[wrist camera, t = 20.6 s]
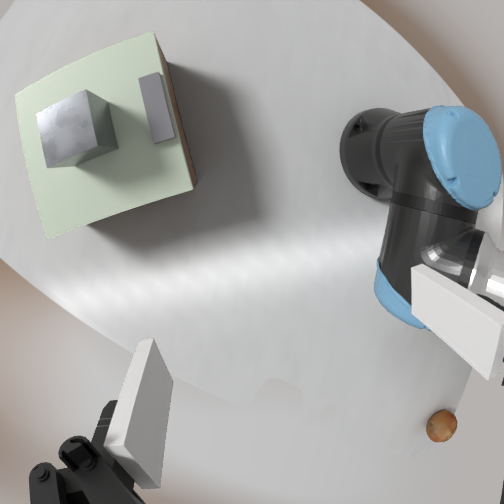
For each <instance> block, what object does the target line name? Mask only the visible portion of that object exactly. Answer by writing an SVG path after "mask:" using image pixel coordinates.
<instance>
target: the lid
mask: <svg viewBox="0 0 504 504" xmlns="http://www.w3.org/2000/svg"><path fill="white" fill-rule="evenodd" d="M85 89H87V90H89V91H90V92H92V93H94V94H96V95H97V96H99V97H101V98H103V99H104V100H106V101H108V103H109V108H110V113H111V117H112V122H113V126H114V130H115V135H116V139H117V143H118V147H119V149H117V150H114V151H112V152H109V153H107V154H104V155H101V156H99V157H96V158H94V159H91V160H89V161H87V162H84V163H82V164H79V165H77V166H75V167H59V168H47V166H46V162H45V158H44V153H43V148H42V144H41V138H40V133H39V128H38V122H37V116H36V114H37V113H39V112H40V111H42V110H44V109H46V108H48V107H50V106H52V105H54V104H56V103H58V102H60V101H62V100H64V99H66V98H68V97H70V96H72V95H74V94H76V93H78V92H80V91H83V90H85ZM15 101H16V110H17V117H18V124H19V130H20V136H21V142H22V147H23V152H24V157H25V162H26V167H27V171H28V175H29V179H30V183H31V187H32V191H33V195H34V199H35V202H36V206H37V209H38V213H39V216H40V219H41V223H42V226H43V229H44V232H45V235H46V238H47V240H48V239H50V238H53V237H55V236H58V235H60V234H63V233H66V232H68V231H71V230H73V229H76V228H79V227H81V226H84V225H87V224H90V223H92V222H95V221H98V220H101V219H103V218H106V217H109V216H112V215H115V214H118V213H121V212H124V211H127V210H130V209H133V208H136V207H139V206H142V205H145V204H148V203H151V202H154V201H157V200H161V199H164V198H167V197H170V196H174V195H177V194H180V193H184V192H187V191H190V190H193V189H194V188H193V184H192V181H191V177H190V173H189V170H188V166H187V162H186V159H185V155H184V151H183V147H182V144H181V140H180V136H179V132H178V128H177V124H176V120H175V116H174V112H173V108H172V104H171V100H170V96H169V92H168V88H167V84H166V80H165V76H164V71H163V67H162V63H161V59H160V54H159V50H158V45H157V41H156V36H155V34H154V31H151V32H148V33H145V34H142V35H139V36H136V37H133V38H130V39H127V40H125V41H122V42H119V43H117V44H114V45H112V46H109V47H107V48H104V49H102V50H99V51H97V52H95V53H92V54H90V55H88V56H85V57H83V58H81V59H79V60H77V61H75V62H73V63H71V64H68V65H66V66H64V67H62V68H61V69H59V70H57V71H55V72H53V73H51V74H49V75H47V76H45V77H44V78H42V79H40V80H38V81H36V82H35V83H33V84H31V85H30V86H28V87H26V88H25V89H23V90H21V91H20V92H18V93H17V94H15Z"/></svg>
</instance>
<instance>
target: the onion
mask: <svg viewBox="0 0 504 504" xmlns="http://www.w3.org/2000/svg"><path fill="white" fill-rule="evenodd" d="M456 428H457V420H456V417H455V415H454V414H452V413H451V412H449V411H447V410H443V411H439V412H437V413H435V414H434V415H433V416H432V417H431V418H430V419H429V421H428V423H427V427H426V432H427V435H428V436H429V438H430V439H431V440H432V441H434V442H445V441H447V440H449V439H450V438H451V437H452V436H453V434H454V433H455V431H456Z"/></svg>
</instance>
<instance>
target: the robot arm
mask: <svg viewBox="0 0 504 504" xmlns="http://www.w3.org/2000/svg"><path fill="white" fill-rule="evenodd" d="M340 158H341V163H342V166H343V169H344V172H345V174H346V176H347V177H348V179H349V180H350V182H351V183H352V184H353V185H354V186H355V187H356V188H357V189H358V190H359V191H361V192H362V193H364V194H366V195H369V196H372V197H376V198H381V199H390V198H391V203H390V208H389V214H388V219H387V225H386V229H385V234H384V238H383V243H382V247H381V252H380V256H379V258H378V259H377V272H376V277H375V282H374V292H375V294H376V297H377V298H378V301H379V302H380V304H381V305H382V306H383V307H384V308H385V309H386V310H387V311H388V312H389V313H391V314H392V315H393V316H395V317H396V318H398V319H400V320H401V321H403V322H405V323H407V324H409V325H411V326H414V327H416V328H420V329H423V328H425V329H427V330H428V331H433V332H434V333H435V334H436V335H437V336H438V337H439V338H441V339H442V340H443V341H444V342H445V343H446V344H447V345H449V346H450V347H451V348H452V349H453V350H454V351H455V352H457V353H458V354H459V355H460V356H461V357H462V358H463V359H464V360H465V361H467V362H468V363H469V364H470V365H471V366H472V367H473V368H474V369H476V370H477V371H478V372H479V373H480V374H481V375H482V376H483V377H484V378H485V379H486V380H487V381H489V380H490V379H492V378H493V377H495V376H496V375H497V374H499V373H500V370H501V366H502V363H503V362H504V252H503V251H500V250H498V249H497V248H496V247H495V245H494V243H493V241H492V240H491V238H490V236H489V234H488V233H487V232H484V231H480V230H477V229H475V224H476V219H477V214H478V210H479V209H482V208H485V207H487V206H488V205H490V204H491V203H492V202H493V197H494V196H496V195H497V194H498V191H499V188H500V183H501V176H502V166H501V157H500V152H499V148H498V145H497V143H496V140H495V139H494V137H493V135H492V132H491V130H490V128H489V127H488V125H487V124H486V123H485V121H484V120H483V119H482V118H481V117H480V116H479V115H478V114H476V113H475V112H473V111H472V110H470V109H468V108H465V107H462V106H441V105H440V106H434V107H433V108H429V109H423V110H418V111H413V112H408V113H403V114H401V113H398V112H395V111H393V110H389V109H385V108H374V109H370V110H366V111H363V112H361V113H359V114H357V115H356V116H354V117H353V118H352V119H351V120H350V121H349V122H348V124H347V125H346V127H345V129H344V131H343V134H342V137H341V141H340ZM502 386H504V378H503V382H502ZM172 387H173V380H172V377H171V375H170V373H169V371H168V369H167V367H166V365H165V363H164V360H163V358H162V356H161V354H160V352H159V349H158V347H157V345H156V343H155V340H154V338H152V339H147V340H142V341H139V343H138V346H137V348H136V351H135V354H134V356H133V359H132V362H131V364H130V367H129V370H128V373H127V376H126V379H125V381H124V384H123V387H122V390H121V393H120V396H119V399H118V400H113V401H110V402H109V403H108V404H107V405H106V406H105V407H104V409H103V411H102V413H101V416H100V420H99V421H98V424H97V427H96V430H95V433H94V436H93V438H92V441H91V443H90V441H89V440H88V439H87V438H86V437H83V436H74V437H72V438H69V439H68V440H66V441H65V442H64V443H63V444H62V445H61V447H60V449H59V458H60V459H61V460H62V461H63V462H64V463H65V465H67V467H68V468H64V469H59V470H57V469H56V468H55V467H54V466H53V465H52V464H51V463H47V462H45V463H40V464H38V465H36V466H35V467H34V468H33V469H32V471H31V473H30V476H29V488H30V502H31V504H145V502H144V501H143V500H142V499H141V497H140V496H139V495H138V494H137V493H136V492H135V491H134V490H133V487H134V481H135V482H136V483H137V484H138V485H139V486H140V487H141V488H142V489H153V488H154V489H155V488H160V486H161V475H162V466H163V457H164V448H165V439H166V431H167V423H168V416H169V409H170V402H171V394H172ZM500 504H504V482H503V489H502V496H501V501H500Z"/></svg>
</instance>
